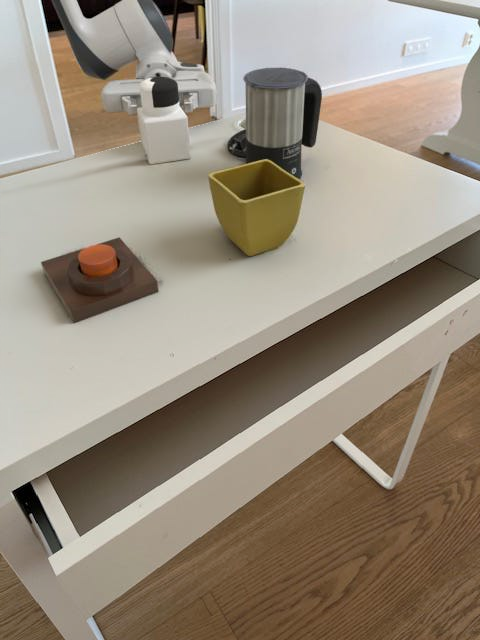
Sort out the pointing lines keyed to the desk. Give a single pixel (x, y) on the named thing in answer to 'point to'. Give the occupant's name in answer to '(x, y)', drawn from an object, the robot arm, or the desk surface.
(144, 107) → the medicine bottle
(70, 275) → the button base
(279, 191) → the flower pot
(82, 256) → the button
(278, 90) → the milk frother
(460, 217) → the desk surface
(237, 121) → the desk surface
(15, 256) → the desk surface
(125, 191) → the desk surface
